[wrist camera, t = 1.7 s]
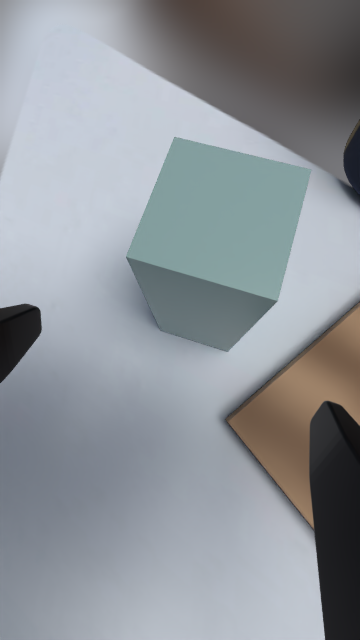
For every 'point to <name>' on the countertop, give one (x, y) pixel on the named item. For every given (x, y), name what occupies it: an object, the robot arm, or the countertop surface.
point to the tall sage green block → (216, 240)
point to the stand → (301, 407)
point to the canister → (353, 158)
